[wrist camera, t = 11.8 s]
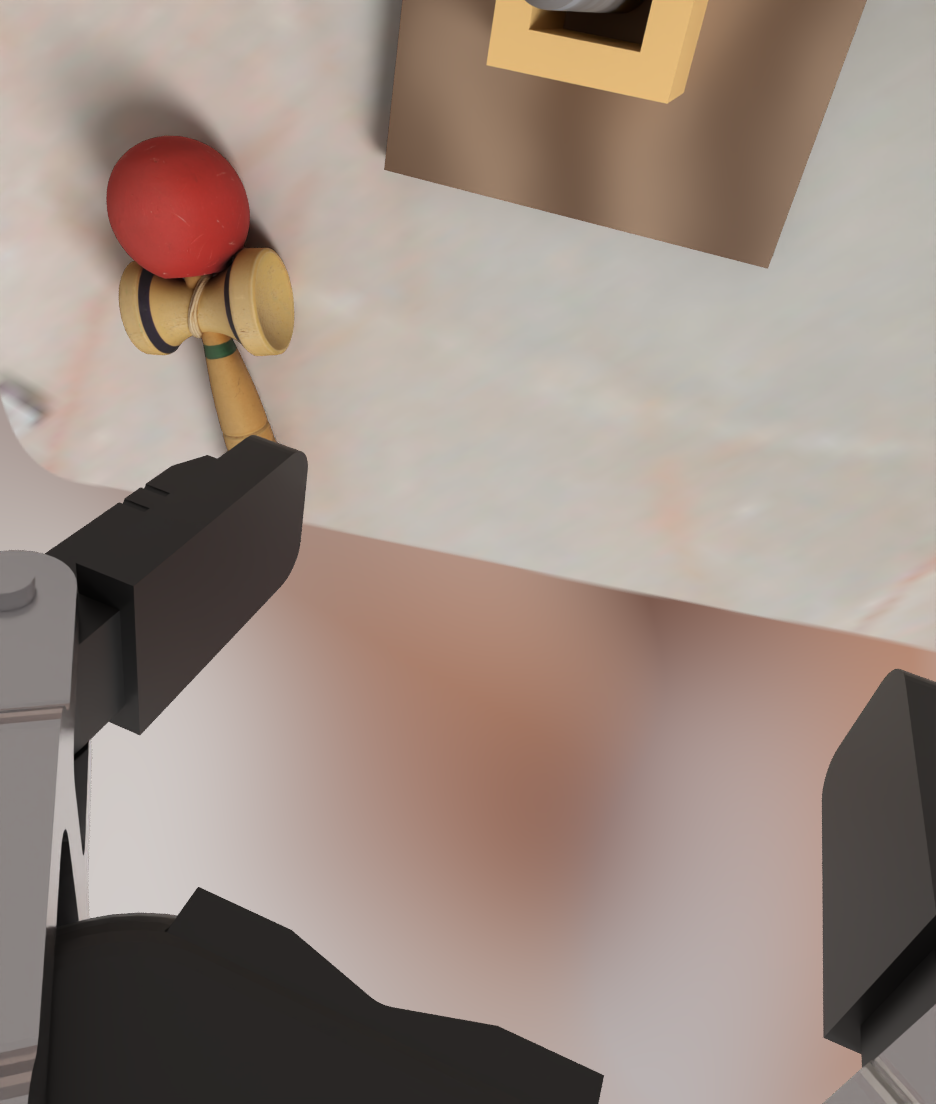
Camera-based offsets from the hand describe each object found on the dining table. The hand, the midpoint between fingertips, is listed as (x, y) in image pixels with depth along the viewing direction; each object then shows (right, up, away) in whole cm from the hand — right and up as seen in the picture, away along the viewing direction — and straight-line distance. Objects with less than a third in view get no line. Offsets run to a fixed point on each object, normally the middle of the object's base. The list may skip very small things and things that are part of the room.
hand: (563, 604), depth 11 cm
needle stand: (+5, +21, +19) cm, 29 cm away
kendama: (-12, +12, +32) cm, 36 cm away
